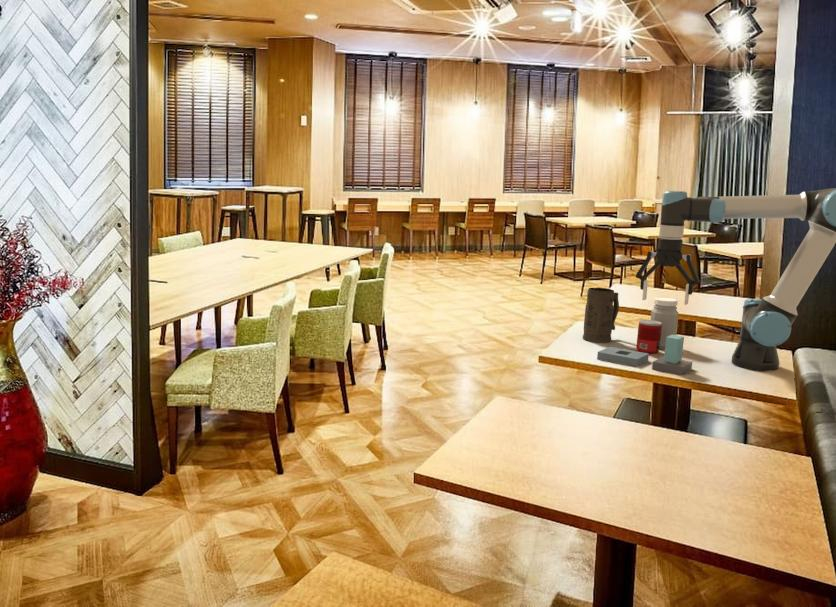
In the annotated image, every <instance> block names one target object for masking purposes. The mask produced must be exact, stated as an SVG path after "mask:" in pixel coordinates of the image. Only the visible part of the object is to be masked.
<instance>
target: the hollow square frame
mask: <svg viewBox="0 0 836 607" xmlns="http://www.w3.org/2000/svg"><path fill="white" fill-rule="evenodd" d="M651 364H652V365H651V369H652V370H655V371H660V372H666V373H671V374H676V375H684V374H686V373H688V372H689V371H691V370H692V368H693V361H689V360H684V359H682V360H681V361H679V363H678V364H672V363H666V361H664V356H661V357H659V358H657V359H655V360H653V361H652V363H651Z"/></svg>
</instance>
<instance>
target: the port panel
mask: <svg viewBox="0 0 836 607" xmlns="http://www.w3.org/2000/svg"><path fill="white" fill-rule="evenodd" d="M596 356H597V357H596V359H597V360H600V359H602V360H601V361H605V360H606V361H607V362H612V363H615V362H616V363H617V364H622V365H627V366H632V367H639V366H641V365H642V364H643V365H644V363H646V362H648V361H649V356H650V354H648V353H643V352H638V351H637V350H631V349H626V348H625V349H624V348H619V347H614V346H609V347H606V348H603V349H601V350H599V351H597V355H596Z"/></svg>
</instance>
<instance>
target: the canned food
mask: <svg viewBox="0 0 836 607" xmlns="http://www.w3.org/2000/svg"><path fill="white" fill-rule="evenodd" d="M661 330H662V323H661V322H659V321H654V320H651V319H640V320H639V321H638V329H637V338H636V348H635V349H636V351H637V352H643V353H648V354H649V355H656V354H658V353H659V352H660V349H659V348H660V339H661Z"/></svg>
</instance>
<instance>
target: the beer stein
mask: <svg viewBox="0 0 836 607" xmlns="http://www.w3.org/2000/svg"><path fill="white" fill-rule="evenodd" d="M586 294H587V296H586V304H585V310H584V319H583V320H584V321H583V334H582V339H583V340H584V341H587V342H591V343H604V344H605V343H610V342H612V331H615V330H616V325H615V321H616V319H617V317H618V314H619V309H620V303H619V293H618V292H615V290H614V289H610V288H605V287H588V288H587V293H586Z"/></svg>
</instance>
